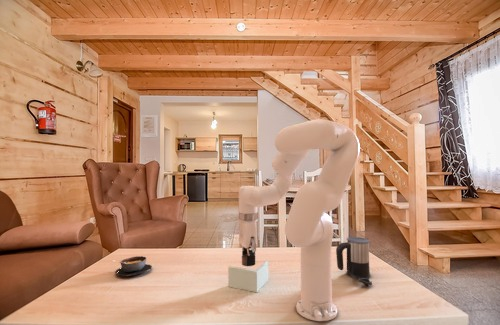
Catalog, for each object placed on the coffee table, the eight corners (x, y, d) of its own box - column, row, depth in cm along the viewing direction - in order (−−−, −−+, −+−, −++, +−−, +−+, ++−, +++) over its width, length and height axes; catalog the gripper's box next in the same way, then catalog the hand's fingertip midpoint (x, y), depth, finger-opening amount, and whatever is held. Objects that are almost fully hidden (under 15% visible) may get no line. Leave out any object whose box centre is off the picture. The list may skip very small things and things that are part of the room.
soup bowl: (152, 275, 113) (152, 258, 113) (110, 282, 107) (110, 263, 107) (151, 264, 127) (151, 248, 127) (114, 269, 121) (114, 252, 121)
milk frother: (358, 269, 118) (358, 235, 118) (389, 283, 103) (388, 245, 103) (333, 274, 112) (332, 239, 112) (361, 290, 98) (360, 249, 98)
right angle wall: (268, 279, 108) (268, 261, 108) (257, 292, 97) (256, 271, 97) (242, 274, 113) (242, 257, 113) (228, 286, 102) (228, 266, 102)
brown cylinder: (255, 266, 102) (255, 258, 102) (241, 266, 103) (241, 258, 103) (255, 261, 108) (255, 253, 108) (242, 261, 108) (242, 253, 108)
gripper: (233, 213, 112) (233, 256, 112) (245, 221, 96) (246, 272, 96) (250, 212, 115) (250, 254, 114) (264, 220, 98) (265, 269, 98)
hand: (248, 262), depth 105 cm, fingers closed on brown cylinder, 5 cm apart
